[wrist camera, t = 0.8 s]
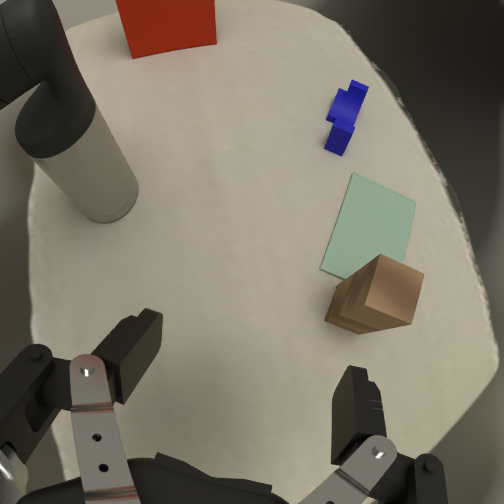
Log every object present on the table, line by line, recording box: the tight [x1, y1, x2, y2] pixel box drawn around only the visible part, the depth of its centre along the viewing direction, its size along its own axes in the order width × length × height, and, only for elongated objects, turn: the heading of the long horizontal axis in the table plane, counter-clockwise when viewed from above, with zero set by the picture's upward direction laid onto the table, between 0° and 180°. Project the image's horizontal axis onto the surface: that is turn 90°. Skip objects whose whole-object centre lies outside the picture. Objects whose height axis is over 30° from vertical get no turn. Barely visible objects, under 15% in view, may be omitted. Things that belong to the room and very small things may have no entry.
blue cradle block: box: [324, 80, 369, 156], centre depth 46 cm, size 12×4×6 cm, turn 156°
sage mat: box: [320, 172, 416, 280], centre depth 43 cm, size 16×11×1 cm
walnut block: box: [325, 254, 424, 334], centre depth 33 cm, size 5×5×14 cm
